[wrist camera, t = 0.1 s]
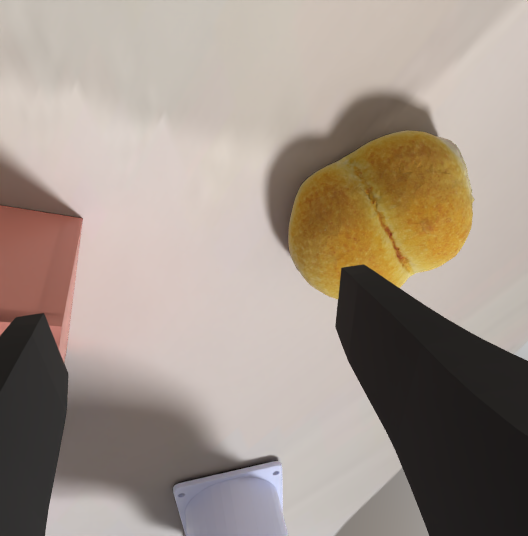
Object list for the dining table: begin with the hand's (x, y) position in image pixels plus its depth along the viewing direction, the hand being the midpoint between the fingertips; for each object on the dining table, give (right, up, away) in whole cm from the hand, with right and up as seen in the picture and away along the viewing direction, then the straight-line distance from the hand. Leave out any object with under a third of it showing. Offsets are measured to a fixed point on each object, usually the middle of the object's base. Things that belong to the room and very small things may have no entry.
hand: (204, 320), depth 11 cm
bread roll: (+7, +4, +12) cm, 15 cm away
